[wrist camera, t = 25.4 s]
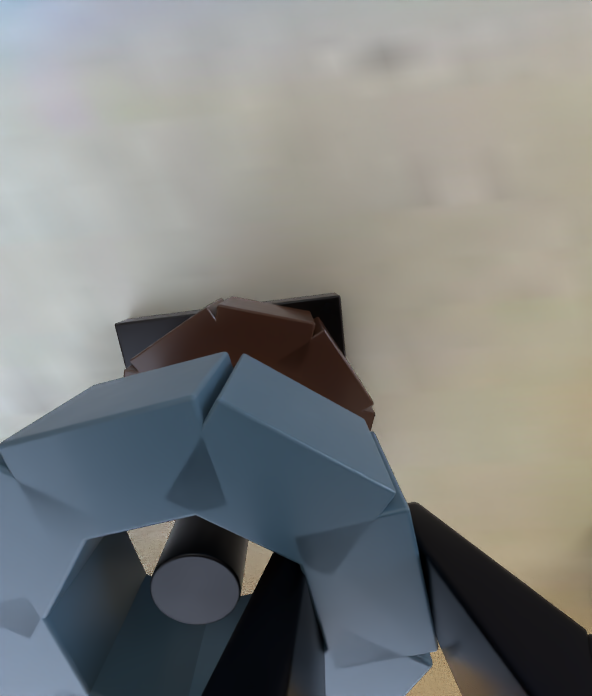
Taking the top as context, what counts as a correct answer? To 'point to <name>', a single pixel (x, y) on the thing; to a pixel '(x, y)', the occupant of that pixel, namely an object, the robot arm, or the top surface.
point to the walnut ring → (264, 348)
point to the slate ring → (214, 506)
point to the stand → (195, 532)
